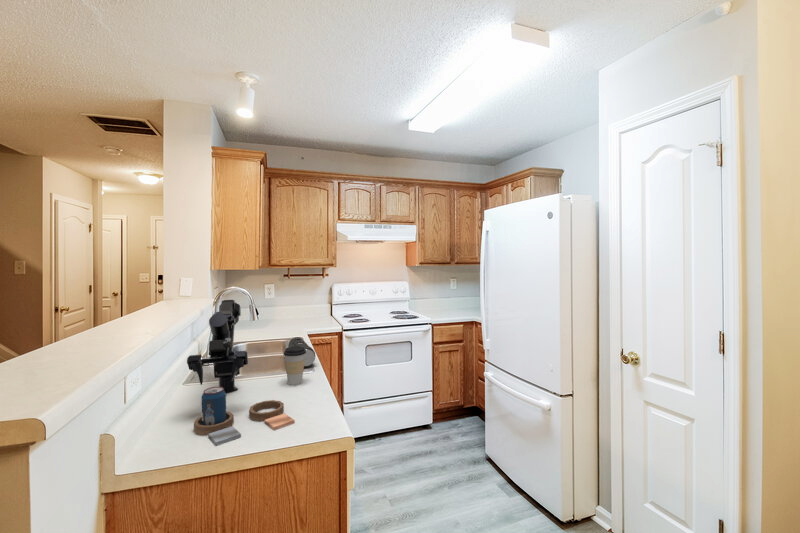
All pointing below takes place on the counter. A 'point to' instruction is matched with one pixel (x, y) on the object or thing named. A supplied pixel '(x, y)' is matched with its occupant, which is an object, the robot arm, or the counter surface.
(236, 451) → the counter surface
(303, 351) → the coffee cup
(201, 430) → the grey tag ring
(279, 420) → the terracotta tag ring
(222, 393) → the soda can
